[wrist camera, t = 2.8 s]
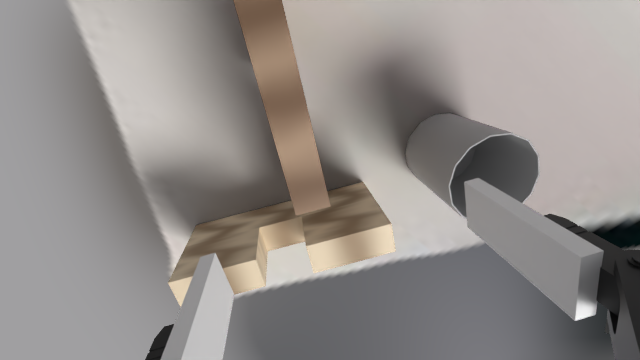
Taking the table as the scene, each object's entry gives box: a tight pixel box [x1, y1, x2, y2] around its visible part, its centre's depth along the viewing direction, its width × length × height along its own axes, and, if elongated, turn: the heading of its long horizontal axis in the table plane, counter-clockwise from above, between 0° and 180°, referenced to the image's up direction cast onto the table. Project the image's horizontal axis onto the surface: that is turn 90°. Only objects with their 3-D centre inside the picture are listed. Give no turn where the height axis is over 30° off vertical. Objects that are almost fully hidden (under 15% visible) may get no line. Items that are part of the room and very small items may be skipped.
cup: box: [405, 113, 540, 219], centre depth 32 cm, size 8×8×10 cm
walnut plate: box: [233, 0, 331, 215], centre depth 27 cm, size 18×3×10 cm, turn 13°
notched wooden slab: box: [168, 182, 396, 307], centre depth 32 cm, size 20×3×10 cm, turn 103°
